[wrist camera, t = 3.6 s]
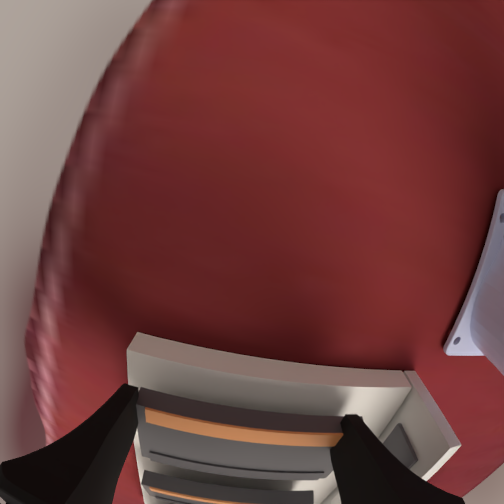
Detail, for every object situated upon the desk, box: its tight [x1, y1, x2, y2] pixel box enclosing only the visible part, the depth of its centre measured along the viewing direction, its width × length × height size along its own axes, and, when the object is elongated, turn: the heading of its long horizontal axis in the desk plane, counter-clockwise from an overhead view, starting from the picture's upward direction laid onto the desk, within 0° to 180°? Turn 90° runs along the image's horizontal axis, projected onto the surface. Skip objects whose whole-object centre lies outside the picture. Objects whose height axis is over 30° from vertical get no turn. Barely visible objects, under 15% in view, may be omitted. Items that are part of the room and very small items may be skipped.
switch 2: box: [141, 470, 314, 504], centre depth 14 cm, size 5×10×1 cm, turn 78°
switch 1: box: [136, 387, 363, 480], centre depth 12 cm, size 5×10×1 cm, turn 78°
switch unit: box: [127, 332, 461, 504], centre depth 14 cm, size 21×15×6 cm
